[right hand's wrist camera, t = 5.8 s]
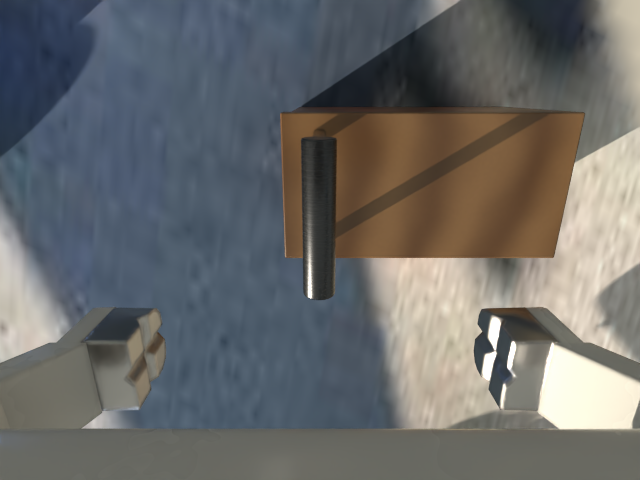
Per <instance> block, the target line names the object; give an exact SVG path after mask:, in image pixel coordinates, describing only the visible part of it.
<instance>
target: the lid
mask: <svg viewBox="0 0 640 480" xmlns="http://www.w3.org/2000/svg"><path fill="white" fill-rule="evenodd" d="M584 116H585V113H584V112H282V113H281V114H280V120H281V150H282V180H283V210H284V240H285V257H286V258H303V291H304V295H305V296H306V297H308V298H310V299H313V300H325V299H329V298H331V297H332V296H333V295H334V294H335V258H553V257H554V254H555V249H556V245H557V240H558V236H559V231H560V227H561V222H562V217H563V213H564V208H565V204H566V199H567V194H568V190H569V185H570V181H571V176H572V171H573V167H574V162H575V158H576V153H577V148H578V144H579V139H580V135H581V130H582V125H583V121H584Z"/></svg>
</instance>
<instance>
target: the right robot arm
mask: <svg viewBox="0 0 640 480" xmlns="http://www.w3.org/2000/svg"><path fill="white" fill-rule="evenodd" d="M161 325H162V319H161V314H160V312H159V310H158V309H157V308H116V307H102V308H93V309H92V310H91V311H90V312H89V313H88V314H87V315H86V316H85V317H84V318H82V319H81V320H80V321H79V322H78V323H77V324H76V325H75V326H74V327H73V328H72V329H71V330H69V331H68V332H67V333H66V334H65V335H64V336H63V337H62V338H61V339H60V340H59V341H58V342H57V343H48V344H45V345H43V346H41V347H38V348H36V349H33V350H31V351H29V352H26V353H24V354H21V355H19V356H16V357H14V358H12V359H9V360H7V361H4V362H2V363H0V480H640V363H638V362H636V361H633V360H631V359H628V358H626V357H623V356H621V355H619V354H616V353H614V352H611V351H609V350H607V349H604V348H602V347H599V346H597V345H595V344H592V343H583V342H582V341H581V340H580V339H579V338H578V337H577V336H576V335H575V334H574V333H573V332H572V331H571V330H570V329H568V328H567V327H566V326H565V325H564V324H563V323H562V322H561V321H560V320H559V319H558V318H557V317H556V316H554V315H553V314H552V313H551V312H550V311H549V310H548V309H546V308H543V307H531V308H487V309H482V310H481V312H480V314H479V319H478V325H479V327H480V328H481V330H482V331H483V332H482V333H481V334H480V335H479V336H478V337H477V338H476V339H475V345H474V357H475V364H476V367H477V370H478V371H479V373H480V375H481V377H483V378H484V379H486V380H487V381H489V382H490V384H489V391H490V393H491V394H492V396H493V398H494V399H495V401H496V403H497V405H498V406H499V408H500V410H529V411H538V413H539V414H540V415H542V416H543V417H544V418H546V419H547V420H548V421H550V422H551V423H552V424H554V425H555V426H556V427H558V428H559V429H81V428H82V427H84V426H85V425H86V424H88V423H89V422H90V421H92V420H93V419H94V418H96V417H97V416H98V415H100V414H101V413H102V411H111V410H140V408H141V406H142V405H143V403H144V401H145V400H146V398H147V396H148V394H149V393H150V391H151V384H150V382H151V381H153V380H154V379H156V378H157V377H159V375H160V373H161V371H162V370H163V367H164V363H165V359H166V344H165V339H164V338H163V337H162V336H161V335H160V334H159V333H158V332H157V331H158V330H159V328H160V327H161Z"/></svg>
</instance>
